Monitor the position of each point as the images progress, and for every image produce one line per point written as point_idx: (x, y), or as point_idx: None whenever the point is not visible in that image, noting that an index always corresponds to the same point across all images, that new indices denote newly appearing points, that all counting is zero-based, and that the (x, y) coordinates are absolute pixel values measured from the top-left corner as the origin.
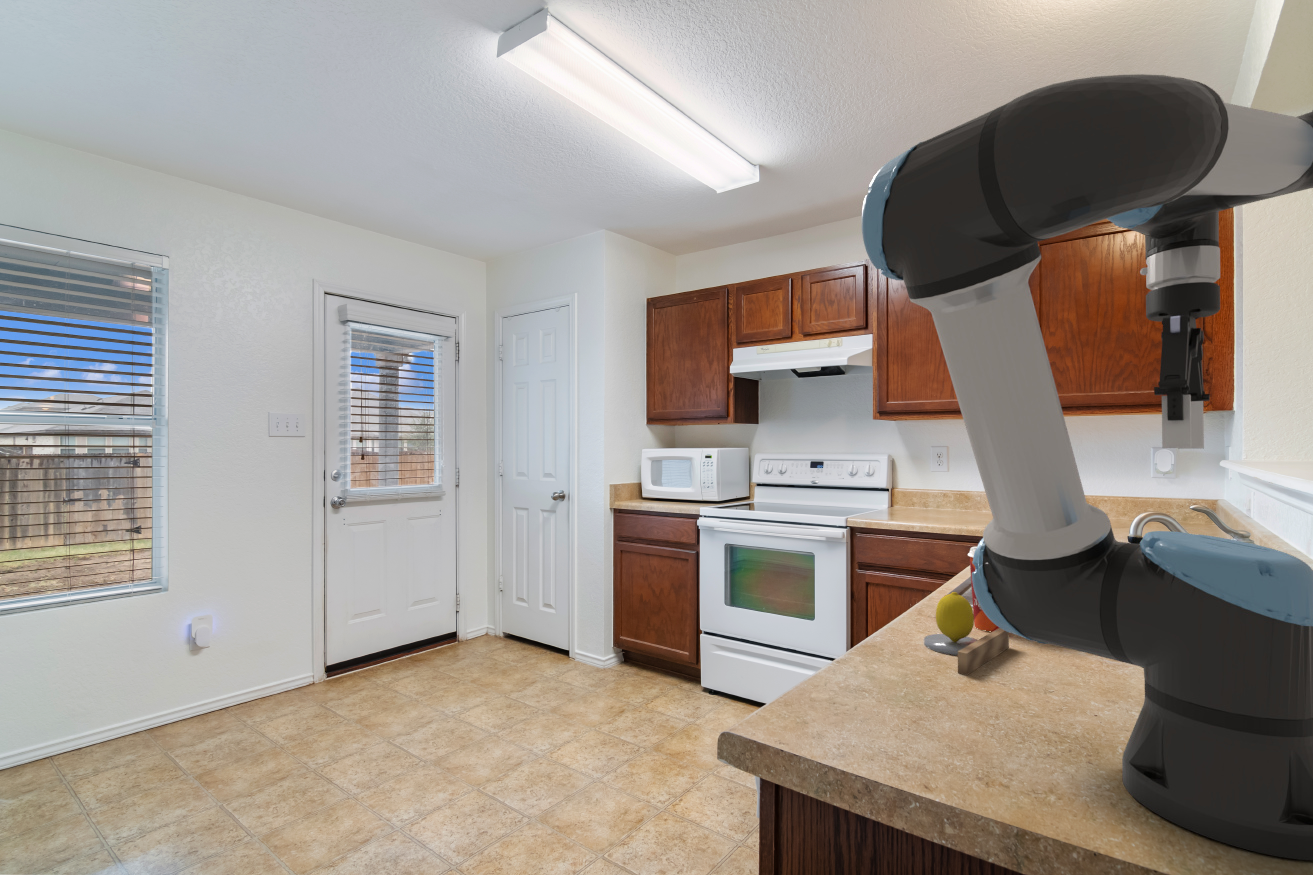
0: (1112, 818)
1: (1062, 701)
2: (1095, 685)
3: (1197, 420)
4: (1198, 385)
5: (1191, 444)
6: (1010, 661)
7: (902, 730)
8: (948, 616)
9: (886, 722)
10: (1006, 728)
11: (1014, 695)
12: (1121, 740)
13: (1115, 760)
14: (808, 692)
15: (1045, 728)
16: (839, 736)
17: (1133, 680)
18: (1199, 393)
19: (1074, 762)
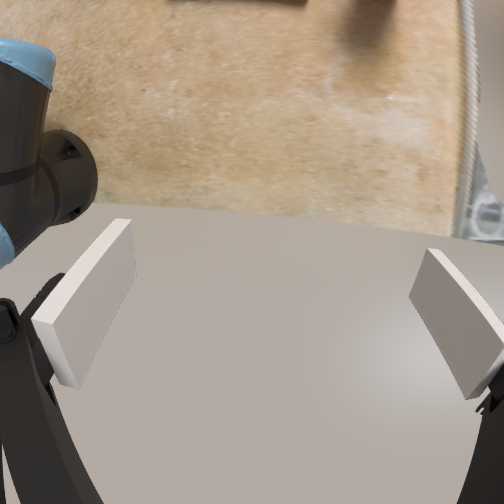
0: None
1: (159, 63)
2: (228, 75)
3: (447, 341)
4: (477, 444)
5: (422, 281)
6: (255, 3)
7: (37, 22)
8: None
9: (42, 9)
10: (76, 56)
11: (147, 32)
12: (105, 115)
13: (72, 120)
14: None
15: (92, 73)
16: (14, 10)
17: (271, 102)
18: (484, 415)
19: (55, 105)
